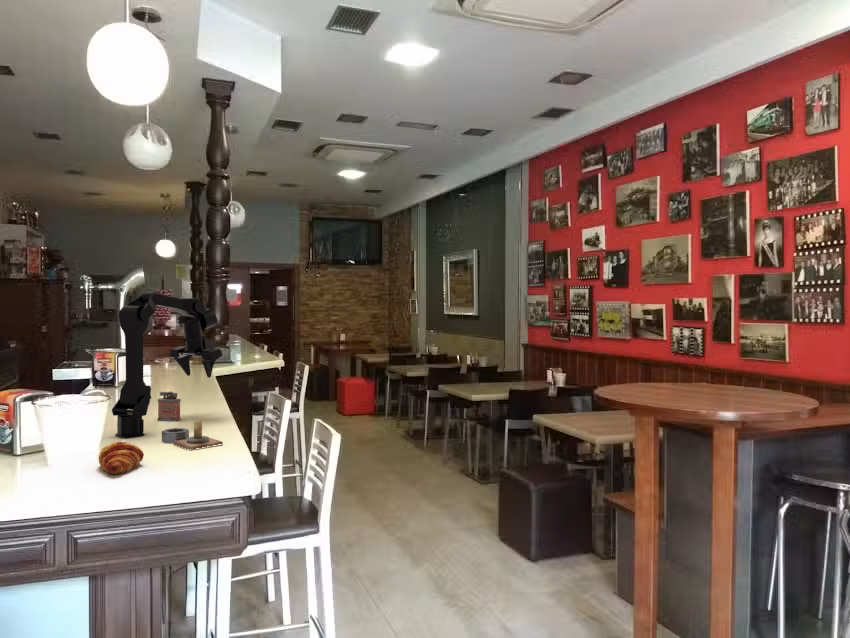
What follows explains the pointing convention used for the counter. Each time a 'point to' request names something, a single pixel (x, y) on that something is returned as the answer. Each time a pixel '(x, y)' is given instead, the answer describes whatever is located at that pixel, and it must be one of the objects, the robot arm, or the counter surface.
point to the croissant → (120, 457)
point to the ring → (174, 435)
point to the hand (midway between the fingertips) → (199, 376)
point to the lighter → (169, 407)
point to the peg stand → (197, 439)
